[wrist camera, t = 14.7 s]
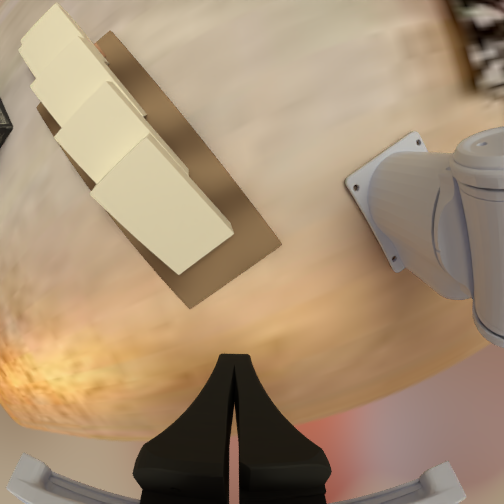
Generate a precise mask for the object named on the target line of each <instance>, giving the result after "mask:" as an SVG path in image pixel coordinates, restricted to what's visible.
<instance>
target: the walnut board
mask: <svg viewBox="0 0 504 504" xmlns="http://www.w3.org/2000/svg"><path fill="white" fill-rule="evenodd" d="M94 45H95V47H96V48H97V49H98V50H99V51H100V53H101V54H102V55H103V56H104V58H105V59H106V60H107V61H108V62H109V65H108V67H109V68H110V70H111V71H112V72H113V73H114V74H115V76H116V77H117V78H118V79H119V81H120V82H121V83H122V84H123V85H124V87H125V88H126V89H127V90H128V92H129V93H130V94H131V95H132V96H133V98H134V99H135V100H136V101H137V103H138V104H139V105H140V106H141V107H142V109H143V110H144V111H145V112H146V114H147V115H146V116H145V117H144V118H145V120H146V121H147V122H148V123H149V124H150V125H151V126H152V128H153V129H154V130H155V131H156V132H157V133H158V134H159V136H160V137H161V138H162V139H163V140H164V141H165V143H166V144H167V145H168V146H169V147H170V148H171V149H172V151H173V152H174V153H175V154H176V155H177V156H178V157H179V159H180V160H181V161H182V162H183V163H184V164H185V166H186V167H187V168H188V169H189V177H190V178H191V179H192V180H193V181H194V183H195V184H196V185H197V186H198V187H199V188H200V189H201V190H202V191H203V193H204V194H205V195H206V196H207V197H208V198H209V199H210V200H211V202H212V203H213V204H214V205H215V206H216V207H217V208H218V209H219V210H220V212H221V213H222V214H223V215H224V216H225V217H226V218H227V219H228V221H229V222H230V223H231V226H232V229H233V232H234V234H233V235H232V236H231V237H229V238H228V239H227V240H225V241H224V242H222V243H221V244H220V245H218V246H217V247H216V248H214V249H213V250H212V251H210V252H209V253H208V254H206V255H205V256H204V257H202V258H201V259H200V260H198V261H197V262H196V263H194V264H193V265H192V266H190V267H189V268H188V269H186V270H185V271H184V272H182V273H181V274H180V275H178V274H177V273H176V272H174V271H173V270H172V269H171V268H170V267H169V266H167V265H166V264H165V263H164V262H163V261H162V260H160V259H159V258H158V257H157V256H156V255H155V254H154V253H152V252H151V251H150V250H149V249H148V248H147V247H146V246H144V245H143V244H142V243H141V242H140V241H139V240H138V239H137V238H136V237H134V236H133V235H132V234H131V233H130V232H129V231H128V230H127V229H126V228H125V227H123V226H122V225H121V224H120V223H119V222H118V221H117V220H116V219H115V218H114V217H113V216H112V215H111V214H110V213H109V212H107V213H108V214H109V215H110V217H111V218H112V219H113V220H114V222H115V223H116V224H117V226H118V227H119V228H120V229H121V231H122V232H123V233H124V234H125V236H126V237H127V238H128V239H129V240H130V242H131V243H132V244H133V245H134V247H135V248H136V249H137V250H138V251H139V253H140V254H141V255H142V256H143V257H144V258H145V260H146V261H147V262H148V263H149V264H150V265H151V267H152V268H153V269H154V270H155V271H156V272H157V274H158V275H159V276H160V277H161V278H162V279H163V280H164V281H165V283H166V284H167V285H168V286H169V287H170V288H171V289H172V290H173V291H174V293H175V294H176V295H177V296H178V297H179V298H180V299H181V300H182V301H183V302H184V303H185V305H186V306H187V307H188V308H189V309H191V308H193V307H194V306H195V305H197V304H198V303H200V302H201V301H203V300H204V299H206V298H207V297H208V296H210V295H211V294H213V293H214V292H216V291H217V290H218V289H220V288H221V287H223V286H224V285H226V284H227V283H228V282H230V281H231V280H233V279H234V278H236V277H237V276H238V275H240V274H241V273H243V272H244V271H246V270H247V269H248V268H250V267H251V266H253V265H254V264H256V263H257V262H258V261H260V260H261V259H263V258H264V257H265V256H267V255H268V254H270V253H271V252H273V251H274V250H275V249H277V248H278V247H280V246H281V245H282V243H281V242H280V241H279V239H278V238H277V236H276V235H275V234H274V232H273V231H272V230H271V228H270V227H269V226H268V224H267V223H266V222H265V220H264V219H263V218H262V216H261V215H260V214H259V212H258V211H257V210H256V208H255V207H254V206H253V205H252V203H251V202H250V201H249V199H248V198H247V197H246V195H245V194H244V193H243V191H242V190H241V189H240V188H239V186H238V185H237V184H236V182H235V181H234V180H233V178H232V177H231V176H230V175H229V173H228V172H227V171H226V169H225V168H224V167H223V166H222V164H221V163H220V162H219V160H218V159H217V158H216V157H215V155H214V154H213V153H212V152H211V150H210V149H209V148H208V147H207V145H206V144H205V143H204V141H203V140H202V139H201V138H200V136H199V135H198V134H197V133H196V131H195V130H194V129H193V128H192V126H191V125H190V124H189V123H188V122H187V120H186V119H185V118H184V117H183V115H182V114H181V113H180V112H179V110H178V109H177V108H176V107H175V106H174V104H173V103H172V102H171V101H170V99H169V98H168V97H167V96H166V95H165V93H164V92H163V91H162V90H161V89H160V87H159V86H158V85H157V84H156V83H155V81H154V80H153V79H152V78H151V77H150V75H149V74H148V73H147V72H146V71H145V70H144V68H143V67H142V66H141V65H140V64H139V62H138V61H137V60H136V59H135V58H134V57H133V55H132V54H131V53H130V52H129V51H128V50H127V48H126V47H125V46H124V45H123V44H122V43H121V42H120V40H119V39H118V38H117V37H116V36H115V35H114V34H113V32H111V31H109V32H108V33H106V34H105V35H104V36H103V37H102V38H101V39H100V40H98V41H97V42H96V43H95V44H94ZM37 110H38V111H39V113H40V115H41V116H42V118H43V120H44V121H45V123H46V125H47V126H48V128H49V129H50V131H51V133H52V134H53V136H55V135H56V134H57V133H58V132H59V130H60V129H61V126H60V125H59V124H58V123H57V121H56V120H55V119H54V118H53V116H52V115H51V114H50V113H49V111H48V110H47V109H46V107H45V106H44V105H43V104H42V102H40V104H39V105H38V106H37ZM58 144H59V143H58ZM59 145H60V144H59ZM60 147H61V148H62V150H63V151H64V153H65V154H66V156H67V157H68V159H69V160H70V162H71V163H72V165H73V166H74V167H75V169H76V170H77V172H78V173H79V175H80V176H81V177H82V179H83V180H84V182H85V183H86V184H87V186H88V187H89V189H90V190H91V191H92V190H93V188H94V187H95V185H96V183H95V182H94V181H93V180H92V179H91V178H90V177H89V175H88V174H87V173H86V172H85V171H84V170H83V169H82V168H81V167H80V166H79V165H78V164H77V163H76V162H75V161H74V159H73V158H72V157H71V156H70V155H69V154H68V153H67V152H66V151H65V150H64V148H63V147H62V146H61V145H60Z"/></svg>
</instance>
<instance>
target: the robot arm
mask: <svg viewBox="0 0 504 504" xmlns="http://www.w3.org/2000/svg"><path fill="white" fill-rule="evenodd" d="M417 140H418V142H419V144H418V145H417V143H416V141H417ZM345 184H346V186H347V188H348V189H349V191H350V193H351V194H352V196H353V198H354V199H355V201H356V203H357V204H358V206H359V208H360V210H361V211H362V213H363V215H364V217H365V218H366V220H367V222H368V224H369V225H370V227H371V229H372V231H373V233H374V235H375V236H376V238H377V240H378V242H379V244H380V246H381V248H382V250H383V252H384V254H385V256H386V258H387V260H388V262H389V264H390V266H391V268H392V270H393V271H394V272H396V273H399V272H401V271H402V270H403V269H404V268H407V269H408V270H409V271H411V272H412V273H413V274H415V275H416V276H417V277H418V278H420V279H421V280H422V281H423V282H425V283H426V284H427V285H428V286H430V287H431V288H432V289H433V290H435V291H436V292H437V293H438V294H439V295H441V296H443V297H445V298H448V299H453V300H464V299H468V298H472V299H473V308H472V311H473V319H474V323H475V325H476V327H477V329H478V331H479V332H480V333H481V335H482V336H483V337H485V338H486V339H487V340H488V341H490V342H491V343H493V344H494V345H497V346H499V347H502V348H504V127H498V128H493V129H489V130H485V131H482V132H479V133H476V134H474V135H471V136H469V137H467V138H466V139H464V140H462V141H461V142H460V143H459V144H458V145H457V147H456V149H455V151H454V153H453V154H451V153H436V152H428V151H427V148H426V146H425V144H424V142H423V140H422V139H421V137H420V135H419V133H418V132H416V131H412V132H410V133H409V134H407V135H406V136H404V137H403V138H401V139H400V140H399V141H397V142H396V143H394V144H393V145H392V146H390V147H389V148H387V149H386V150H384V151H383V152H382V153H380V154H379V155H377V156H376V157H375V158H373V159H372V160H370V161H369V162H367V163H366V164H365V165H363V166H362V167H360V168H359V169H358V170H356V171H355V172H353V173H352V174H351V175H349V176H348V177H347V178H346V180H345ZM354 185H357V187H358V188H357V190H356V191H354V190H353V186H354ZM393 256H395V258H394V260H392V257H393ZM234 402H235V413H236V422H237V431H238V441H239V504H327V503H326V499H325V493H326V489H325V483H326V481H327V480H328V478H329V477H330V475H331V472H332V471H331V467H330V464H329V461H328V459H327V457H326V455H325V453H324V451H323V450H322V449H321V448H320V447H318V446H317V445H316V444H314V443H313V442H312V441H310V440H309V439H307V438H306V437H305V436H304V435H303V434H301V433H300V432H299V431H298V430H297V429H296V428H295V427H294V426H293V425H292V424H291V423H290V422H289V421H288V420H287V419H286V418H285V417H284V416H283V415H282V414H281V412H280V411H279V410H278V409H277V407H276V406H275V405H274V403H273V402H272V401H271V399H270V398H269V396H268V395H267V393H266V391H265V390H264V388H263V386H262V384H261V383H260V381H259V379H258V377H257V375H256V372H255V370H254V368H253V365H252V362H251V358H250V356H249V355H248V354H221V355H219V358H218V361H217V364H216V366H215V368H214V370H213V372H212V374H211V376H210V378H209V380H208V381H207V383H206V385H205V386H204V388H203V389H202V391H201V392H200V394H199V395H198V396H197V398H196V399H195V400H194V402H193V403H192V404H191V405H190V406H189V408H188V409H187V410H186V411H185V412H184V413H183V414H182V415H181V416H180V417H179V418H178V419H177V420H176V421H175V422H174V423H173V424H171V425H170V426H169V427H168V428H167V429H165V430H164V431H163V432H162V433H160V434H159V435H158V436H156V437H155V438H153V439H152V440H150V441H148V442H147V443H145V444H144V445H143V447H142V448H141V450H140V452H139V455H138V457H137V459H136V462H135V466H134V470H133V476H134V478H135V480H136V481H137V482H138V484H139V485H140V487H141V488H142V489H143V490H142V495H141V500H138V499H133V498H129V497H125V496H122V495H118V494H114V493H111V492H107V491H104V490H101V489H97V488H94V487H92V486H89V485H86V484H83V483H80V482H77V481H75V480H72V479H70V478H67V477H65V476H62V475H60V474H57V473H55V472H53V471H51V469H50V468H49V467H48V466H47V465H46V464H45V463H44V462H42V461H40V460H39V459H36V458H34V457H32V456H30V455H28V454H26V453H23V454H22V456H21V458H20V460H19V462H18V464H17V466H16V468H15V470H14V472H13V474H12V476H11V478H10V481H9V483H8V485H7V487H6V488H7V490H8V491H10V492H11V493H12V494H13V495H14V496H16V497H17V498H18V499H19V500H21V501H22V502H23V503H25V504H229V444H230V434H231V426H232V418H233V410H234ZM465 498H466V495H465V493H464V491H463V488H462V486H461V484H460V482H459V481H458V479H457V477H456V475H455V473H454V471H453V469H452V467H451V465H450V463H449V461H446V462H444V463H441V464H439V465H437V466H435V467H432V468H430V469H428V470H427V471H425V472H424V473H423V474H422V475H421V476H420V477H419V478H418V479H416V480H413V481H410V482H408V483H405V484H402V485H399V486H396V487H393V488H390V489H387V490H384V491H380V492H377V493H373V494H370V495H366V496H362V497H358V498H354V499H349V500H345V501H340V502H335V503H329V504H459V503H460V502H461V501H463V500H464V499H465Z"/></svg>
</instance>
